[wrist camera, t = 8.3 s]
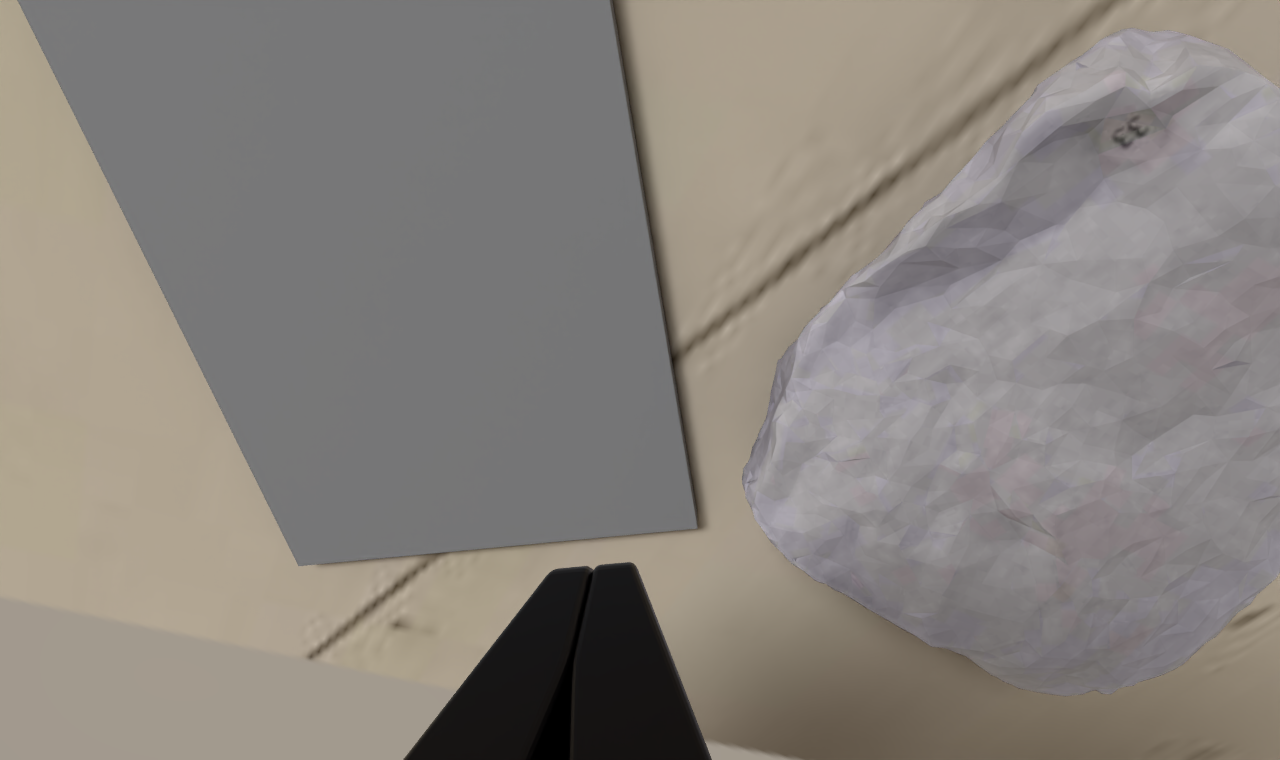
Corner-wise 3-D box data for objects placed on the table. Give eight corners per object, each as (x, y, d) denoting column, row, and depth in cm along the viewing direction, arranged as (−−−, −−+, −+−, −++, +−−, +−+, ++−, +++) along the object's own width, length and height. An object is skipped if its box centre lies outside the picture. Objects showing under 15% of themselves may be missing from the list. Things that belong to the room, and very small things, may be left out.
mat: (582, -179, 13) (579, -182, 12) (697, 514, 20) (697, 528, 19) (7, -63, 14) (-13, -62, 14) (306, 552, 21) (298, 565, 21)
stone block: (706, 434, 20) (1059, 622, 21) (675, 547, 16) (1122, 785, 16) (1009, -58, 15) (1483, 203, 15) (1083, -82, 11) (1740, 281, 11)
